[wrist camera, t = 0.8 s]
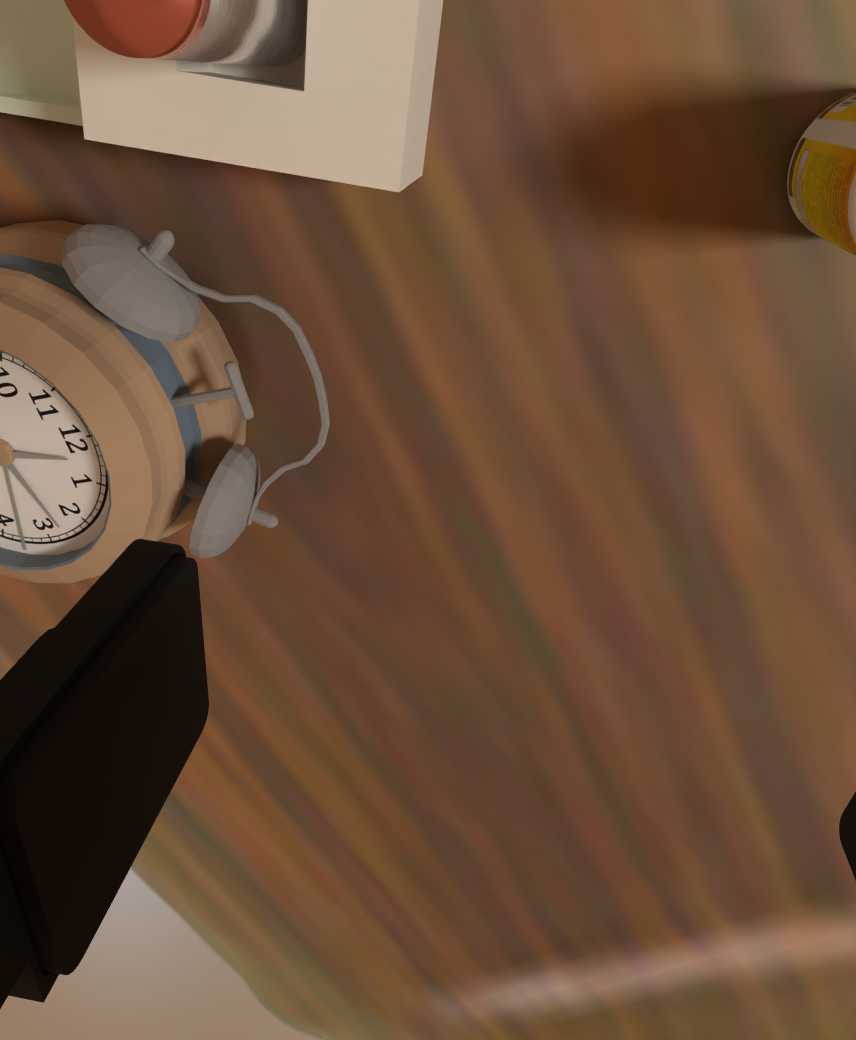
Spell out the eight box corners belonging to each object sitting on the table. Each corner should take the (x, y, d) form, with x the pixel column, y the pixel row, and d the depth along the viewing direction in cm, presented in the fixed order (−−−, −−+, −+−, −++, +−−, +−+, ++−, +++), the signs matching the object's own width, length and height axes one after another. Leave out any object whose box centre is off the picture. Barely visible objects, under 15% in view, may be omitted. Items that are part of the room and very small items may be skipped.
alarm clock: (-299, 304, 30) (217, 174, 24) (-122, 258, 38) (296, 152, 32) (-71, 633, 38) (352, 588, 32) (35, 538, 46) (389, 490, 40)
